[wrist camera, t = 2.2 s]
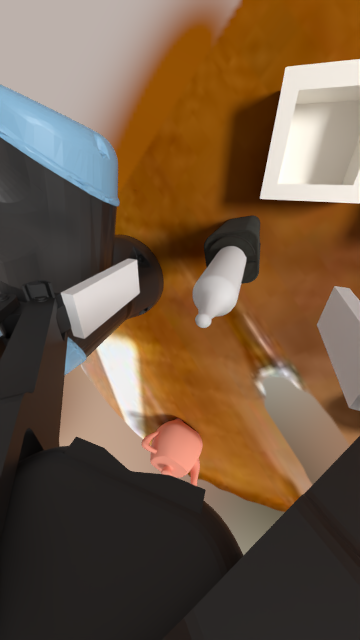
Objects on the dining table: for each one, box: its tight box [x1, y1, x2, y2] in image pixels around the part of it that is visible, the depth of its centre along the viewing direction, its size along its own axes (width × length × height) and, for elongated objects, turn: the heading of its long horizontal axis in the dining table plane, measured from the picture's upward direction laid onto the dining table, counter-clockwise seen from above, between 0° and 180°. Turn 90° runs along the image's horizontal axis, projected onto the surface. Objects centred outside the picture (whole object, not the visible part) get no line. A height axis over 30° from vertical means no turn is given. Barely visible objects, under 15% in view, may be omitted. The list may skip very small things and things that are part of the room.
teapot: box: [142, 418, 203, 486], centre depth 57 cm, size 13×20×12 cm, turn 54°
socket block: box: [260, 59, 360, 203], centre depth 22 cm, size 10×10×5 cm
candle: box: [193, 216, 260, 328], centre depth 21 cm, size 5×5×25 cm
